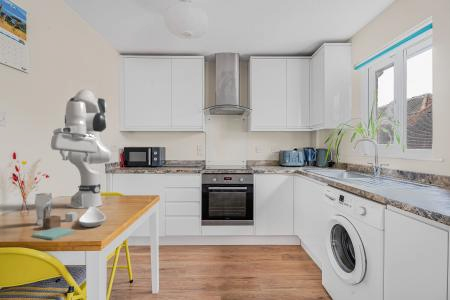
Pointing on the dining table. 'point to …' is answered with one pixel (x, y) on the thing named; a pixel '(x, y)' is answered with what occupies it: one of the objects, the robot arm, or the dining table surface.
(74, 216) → the grey cube
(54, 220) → the walnut block
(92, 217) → the spoon rest
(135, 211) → the dining table surface
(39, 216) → the beer glass
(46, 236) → the teal mat
